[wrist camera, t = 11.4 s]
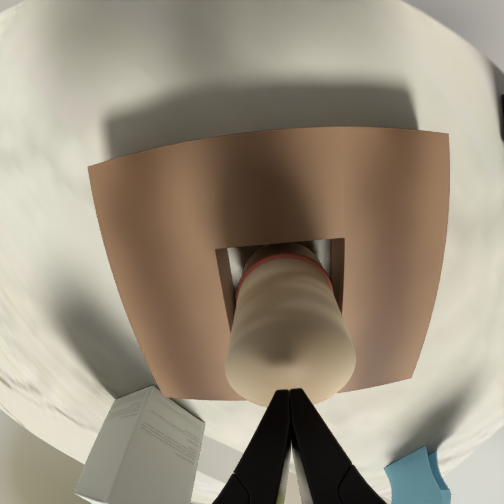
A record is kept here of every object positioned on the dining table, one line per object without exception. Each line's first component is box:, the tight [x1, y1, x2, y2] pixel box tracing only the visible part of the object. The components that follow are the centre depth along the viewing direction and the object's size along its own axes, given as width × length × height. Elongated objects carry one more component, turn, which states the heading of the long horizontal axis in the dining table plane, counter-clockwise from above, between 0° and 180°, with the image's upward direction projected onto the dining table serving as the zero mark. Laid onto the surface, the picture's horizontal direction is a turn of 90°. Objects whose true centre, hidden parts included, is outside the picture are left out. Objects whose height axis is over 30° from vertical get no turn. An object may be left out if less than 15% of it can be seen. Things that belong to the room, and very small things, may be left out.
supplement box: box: [74, 385, 205, 504], centre depth 17 cm, size 7×7×13 cm
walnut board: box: [88, 127, 450, 401], centre depth 15 cm, size 18×16×3 cm
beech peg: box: [225, 242, 356, 407], centre depth 12 cm, size 5×5×8 cm
